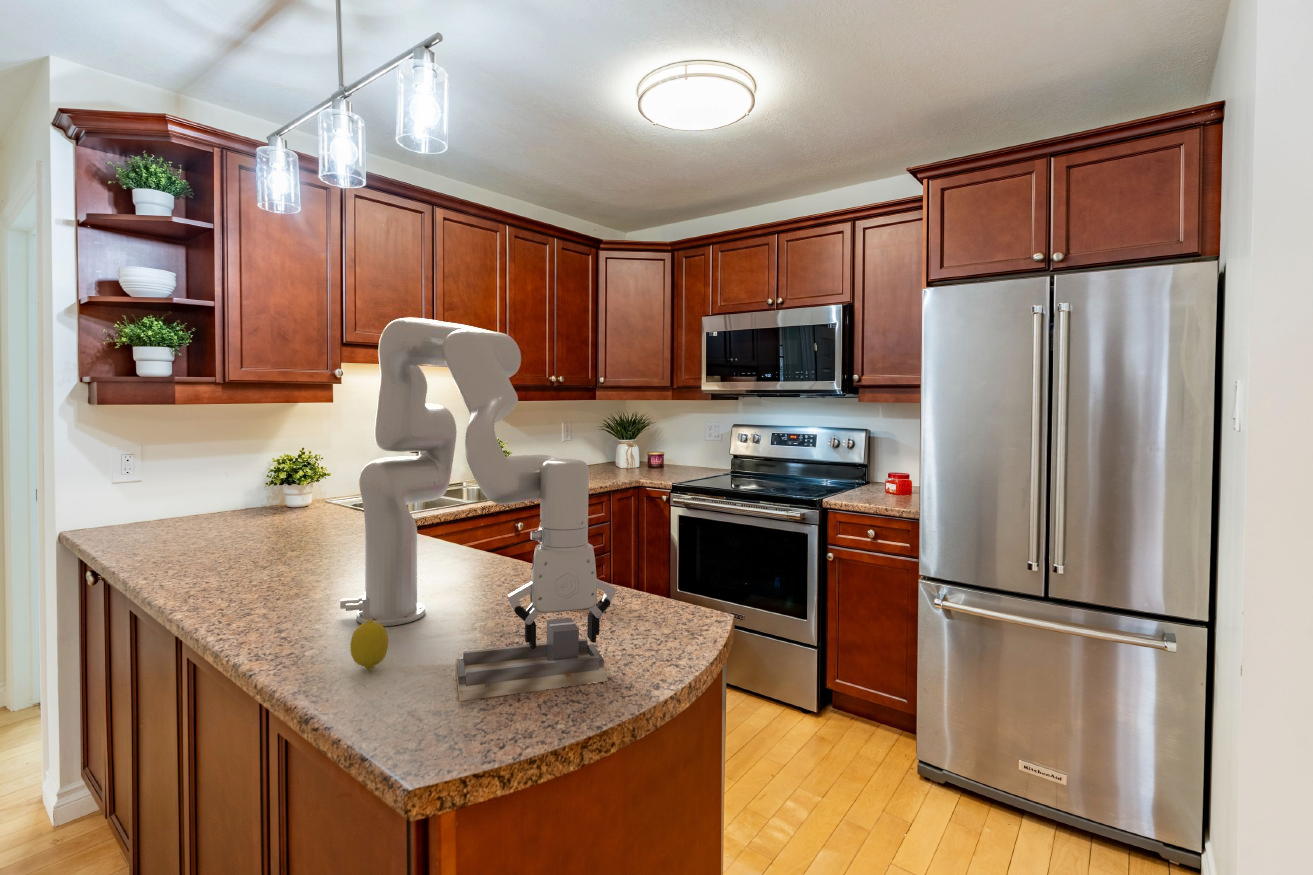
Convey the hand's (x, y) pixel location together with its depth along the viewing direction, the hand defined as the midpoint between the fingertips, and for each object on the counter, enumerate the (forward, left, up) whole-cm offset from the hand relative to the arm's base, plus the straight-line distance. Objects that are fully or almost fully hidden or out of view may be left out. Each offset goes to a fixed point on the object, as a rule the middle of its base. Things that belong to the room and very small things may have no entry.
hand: (562, 642), depth 103 cm
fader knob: (0, 0, -3) cm, 3 cm away
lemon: (-29, +10, -5) cm, 31 cm away
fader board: (-5, 0, -5) cm, 7 cm away
